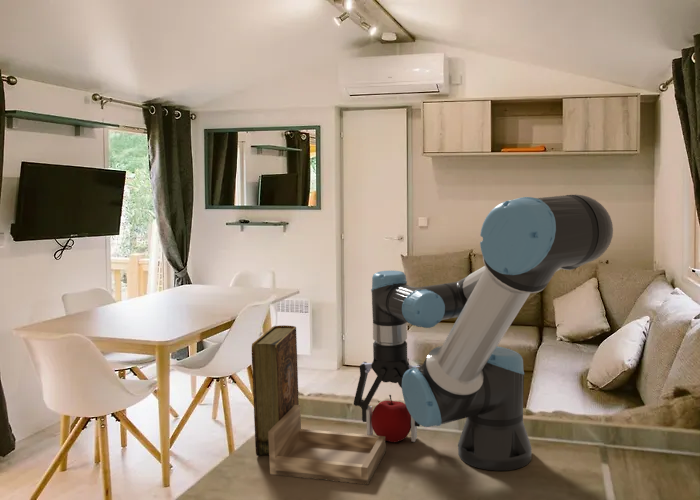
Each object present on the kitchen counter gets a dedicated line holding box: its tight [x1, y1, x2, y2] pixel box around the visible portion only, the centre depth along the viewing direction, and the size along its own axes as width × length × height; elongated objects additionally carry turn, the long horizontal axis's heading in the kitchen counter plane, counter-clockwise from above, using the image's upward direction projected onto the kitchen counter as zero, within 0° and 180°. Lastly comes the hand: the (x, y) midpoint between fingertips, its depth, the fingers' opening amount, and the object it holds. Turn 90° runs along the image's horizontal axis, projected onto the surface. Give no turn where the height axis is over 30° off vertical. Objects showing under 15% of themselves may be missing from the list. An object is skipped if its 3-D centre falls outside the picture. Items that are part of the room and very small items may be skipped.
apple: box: [371, 394, 411, 443], centre depth 157 cm, size 9×9×10 cm
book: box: [251, 325, 300, 457], centre depth 155 cm, size 16×6×25 cm, turn 169°
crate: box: [268, 404, 387, 486], centre depth 145 cm, size 20×15×9 cm
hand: (391, 437), depth 157 cm, fingers open, 9 cm apart
